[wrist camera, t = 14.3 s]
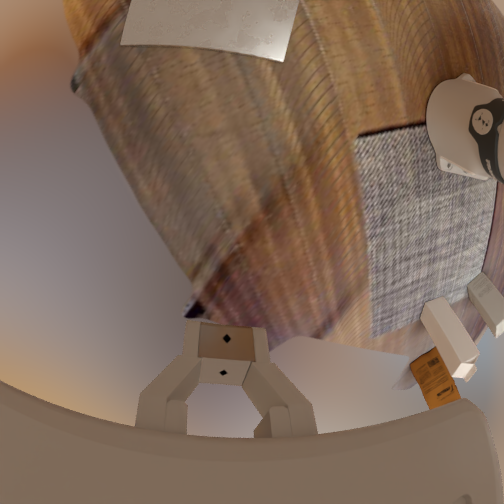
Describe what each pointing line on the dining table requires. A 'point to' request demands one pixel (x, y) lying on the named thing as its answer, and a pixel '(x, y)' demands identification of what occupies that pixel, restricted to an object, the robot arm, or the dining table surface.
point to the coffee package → (434, 379)
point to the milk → (450, 338)
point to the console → (213, 25)
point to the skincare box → (488, 303)
